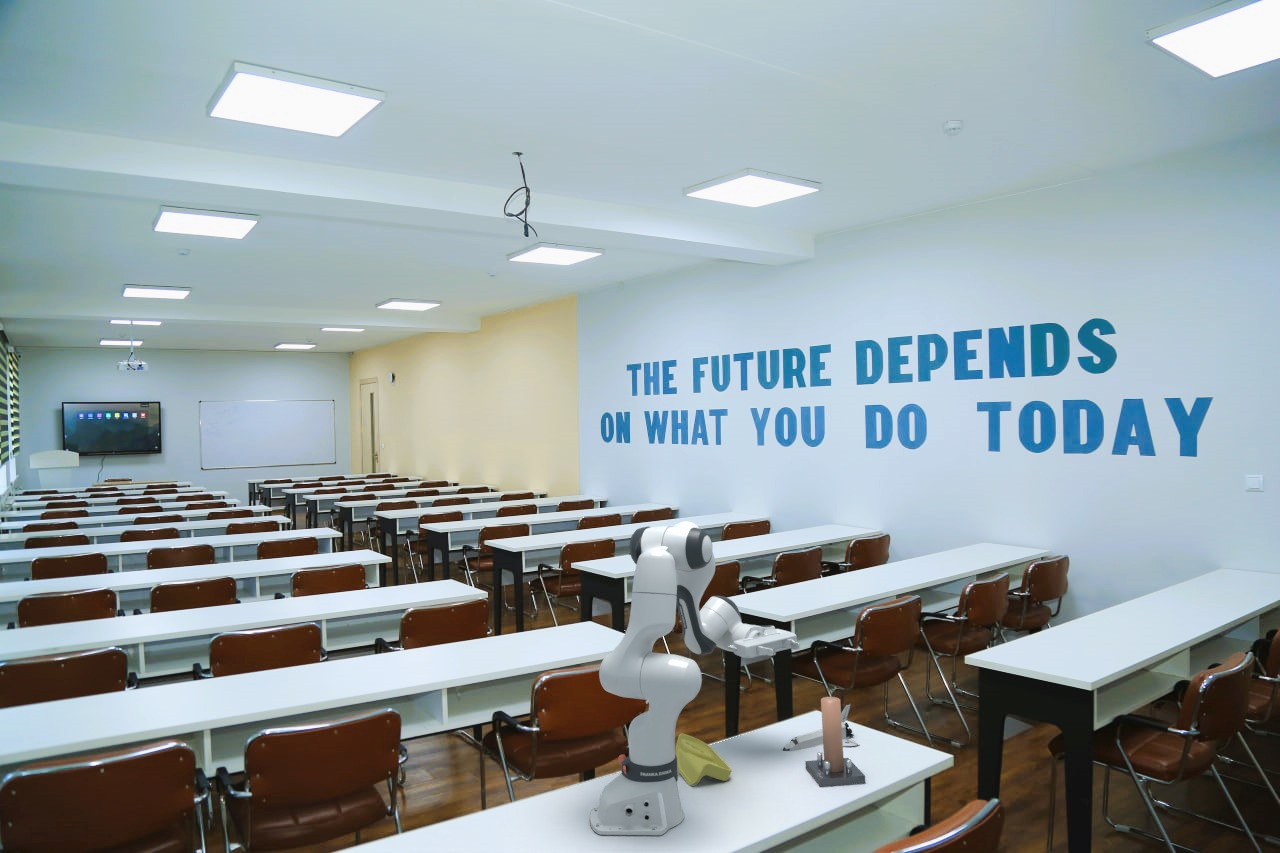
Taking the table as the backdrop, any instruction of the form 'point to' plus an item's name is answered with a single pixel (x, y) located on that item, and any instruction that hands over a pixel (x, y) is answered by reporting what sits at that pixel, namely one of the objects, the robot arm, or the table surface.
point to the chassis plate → (834, 773)
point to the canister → (832, 733)
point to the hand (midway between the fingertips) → (786, 649)
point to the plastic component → (699, 760)
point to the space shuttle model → (817, 736)
